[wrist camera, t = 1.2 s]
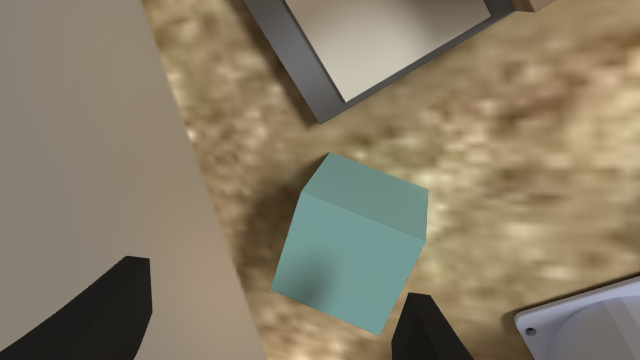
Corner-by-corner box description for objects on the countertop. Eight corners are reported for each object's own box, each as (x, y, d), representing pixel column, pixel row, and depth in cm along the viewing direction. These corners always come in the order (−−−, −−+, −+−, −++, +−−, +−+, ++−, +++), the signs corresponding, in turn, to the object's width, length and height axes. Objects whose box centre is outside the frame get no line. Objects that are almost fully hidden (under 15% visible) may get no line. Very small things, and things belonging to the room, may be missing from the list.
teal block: (428, 188, 20) (425, 241, 16) (390, 269, 22) (379, 335, 18) (330, 151, 21) (301, 192, 16) (302, 233, 23) (270, 289, 18)
